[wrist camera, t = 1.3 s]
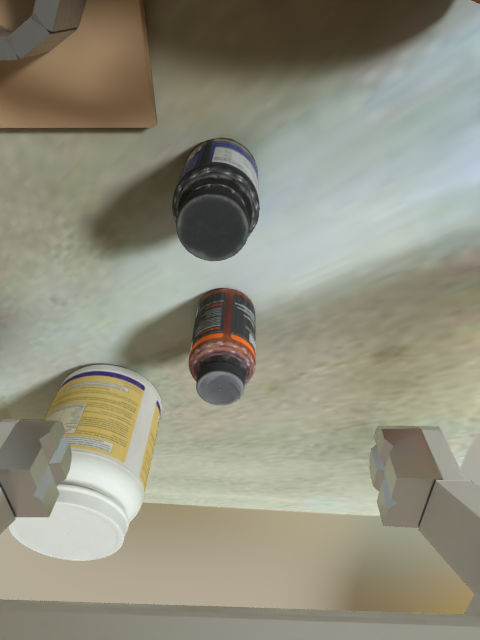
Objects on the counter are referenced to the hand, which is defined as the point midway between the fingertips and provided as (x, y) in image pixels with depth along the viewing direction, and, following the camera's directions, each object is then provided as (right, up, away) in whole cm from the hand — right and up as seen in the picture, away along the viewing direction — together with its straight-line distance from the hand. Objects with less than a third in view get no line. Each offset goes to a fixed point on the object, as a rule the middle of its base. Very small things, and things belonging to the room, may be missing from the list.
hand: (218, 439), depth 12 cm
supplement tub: (-15, -6, +42) cm, 45 cm away
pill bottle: (-1, +16, +26) cm, 30 cm away
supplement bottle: (-1, +4, +34) cm, 34 cm away
